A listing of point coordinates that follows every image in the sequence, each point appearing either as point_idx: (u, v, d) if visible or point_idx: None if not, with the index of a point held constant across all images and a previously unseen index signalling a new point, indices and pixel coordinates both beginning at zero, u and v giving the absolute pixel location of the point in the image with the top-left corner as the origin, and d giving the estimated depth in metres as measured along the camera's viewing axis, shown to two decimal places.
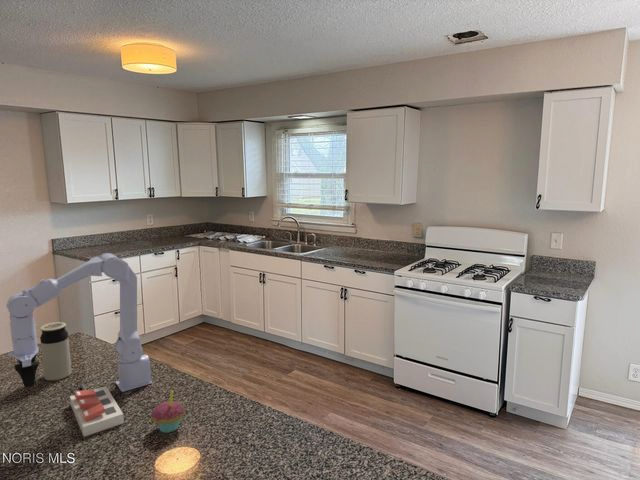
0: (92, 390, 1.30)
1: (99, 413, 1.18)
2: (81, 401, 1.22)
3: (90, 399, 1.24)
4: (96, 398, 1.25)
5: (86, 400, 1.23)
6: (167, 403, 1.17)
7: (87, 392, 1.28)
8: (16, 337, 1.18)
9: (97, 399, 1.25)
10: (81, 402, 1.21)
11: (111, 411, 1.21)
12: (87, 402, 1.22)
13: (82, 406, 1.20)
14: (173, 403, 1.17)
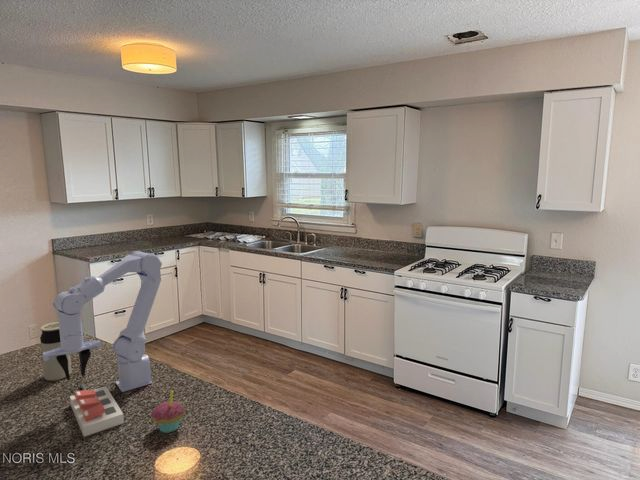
0: (92, 390, 1.30)
1: (99, 413, 1.18)
2: (81, 401, 1.22)
3: (90, 399, 1.24)
4: (96, 398, 1.25)
5: (86, 400, 1.23)
6: (167, 403, 1.17)
7: (87, 392, 1.28)
8: (67, 334, 1.22)
9: (97, 399, 1.25)
10: (81, 402, 1.21)
11: (111, 411, 1.21)
12: (87, 402, 1.22)
13: (82, 406, 1.20)
14: (173, 403, 1.17)
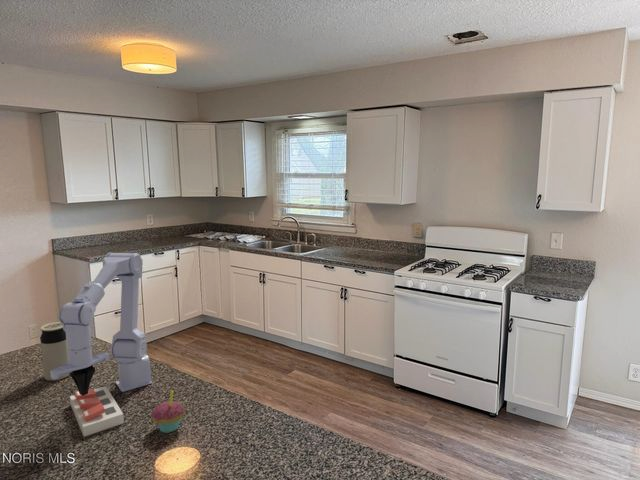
0: (92, 390, 1.30)
1: (99, 413, 1.18)
2: (81, 401, 1.22)
3: (90, 399, 1.24)
4: (96, 398, 1.25)
5: (86, 400, 1.23)
6: (167, 403, 1.17)
7: None
8: (82, 347, 1.13)
9: (97, 399, 1.25)
10: (81, 402, 1.21)
11: (111, 411, 1.21)
12: (87, 402, 1.22)
13: (82, 406, 1.20)
14: (173, 403, 1.17)
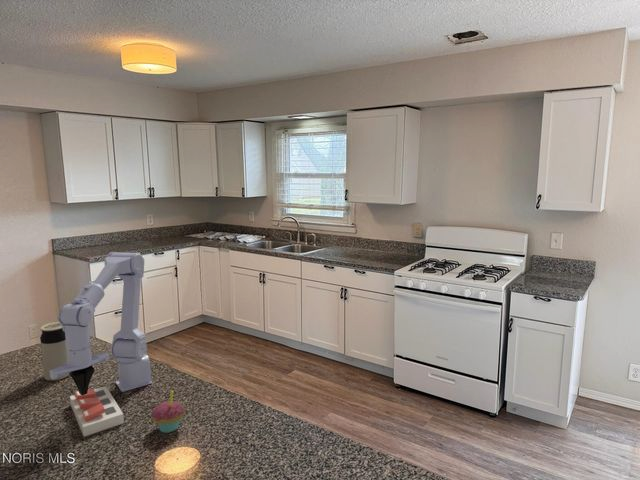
0: (92, 390, 1.30)
1: (99, 413, 1.18)
2: (81, 401, 1.22)
3: (90, 399, 1.24)
4: (96, 398, 1.25)
5: (86, 400, 1.23)
6: (167, 403, 1.17)
7: (87, 392, 1.28)
8: (81, 347, 1.15)
9: (97, 399, 1.25)
10: (81, 402, 1.21)
11: (111, 411, 1.21)
12: (87, 402, 1.22)
13: (82, 406, 1.20)
14: (173, 403, 1.17)
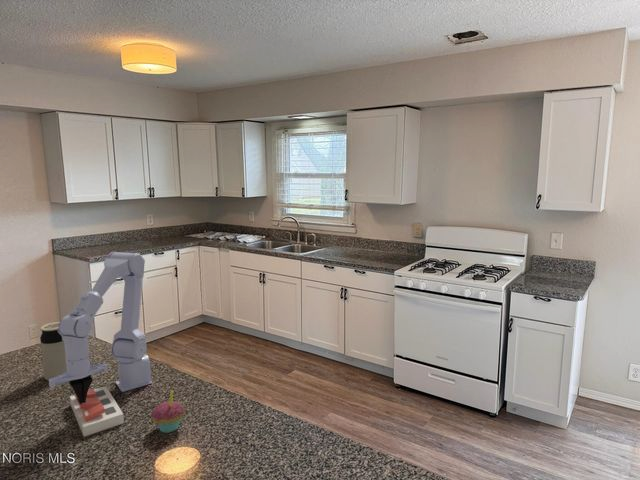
0: (92, 390, 1.30)
1: (99, 413, 1.18)
2: None
3: (90, 399, 1.24)
4: (96, 398, 1.25)
5: (86, 400, 1.23)
6: (167, 403, 1.17)
7: (87, 392, 1.28)
8: (78, 358, 1.17)
9: (97, 399, 1.25)
10: None
11: (111, 411, 1.21)
12: (87, 402, 1.22)
13: (82, 406, 1.20)
14: (173, 403, 1.17)
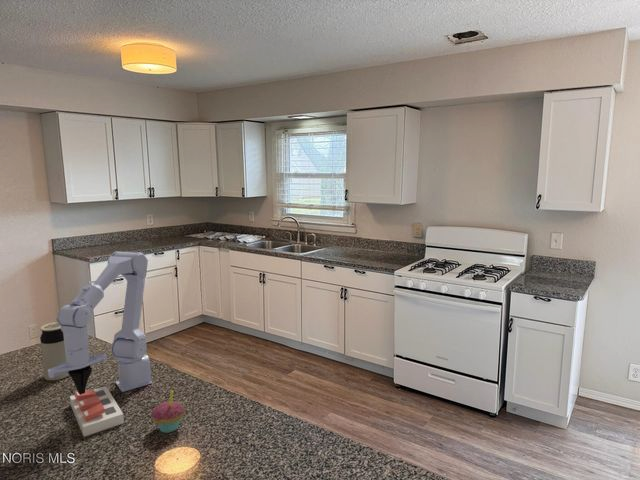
0: (92, 390, 1.30)
1: (99, 413, 1.18)
2: (80, 403, 1.22)
3: (89, 399, 1.24)
4: (95, 397, 1.25)
5: (85, 401, 1.23)
6: (167, 403, 1.17)
7: (87, 392, 1.28)
8: (77, 348, 1.17)
9: (97, 398, 1.24)
10: (80, 404, 1.21)
11: (111, 411, 1.21)
12: (86, 403, 1.22)
13: (82, 408, 1.20)
14: (173, 403, 1.17)
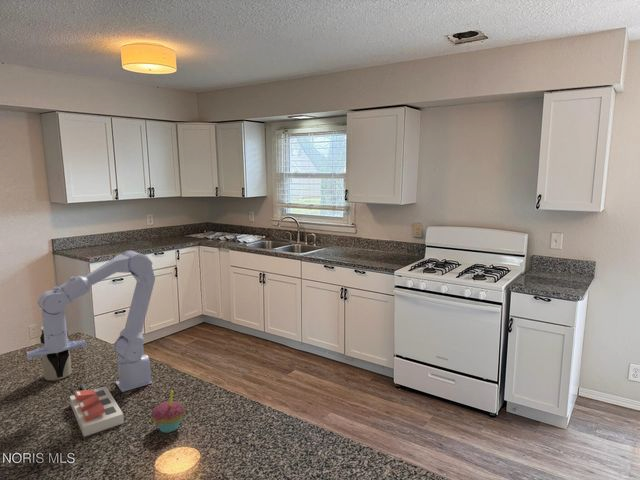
0: (92, 390, 1.30)
1: (99, 413, 1.18)
2: (80, 404, 1.22)
3: (89, 399, 1.24)
4: (95, 395, 1.25)
5: (85, 402, 1.23)
6: (167, 403, 1.17)
7: (87, 392, 1.28)
8: (49, 333, 1.21)
9: (96, 396, 1.24)
10: (80, 406, 1.21)
11: (111, 411, 1.21)
12: (86, 404, 1.22)
13: (82, 409, 1.20)
14: (173, 403, 1.17)
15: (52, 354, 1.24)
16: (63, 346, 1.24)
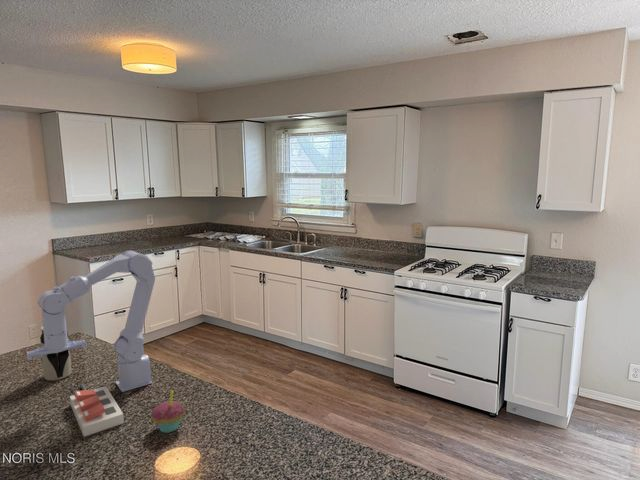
0: (92, 390, 1.30)
1: (99, 413, 1.18)
2: (80, 403, 1.22)
3: (89, 399, 1.24)
4: (95, 396, 1.25)
5: (85, 401, 1.23)
6: (167, 403, 1.17)
7: (87, 392, 1.28)
8: (49, 333, 1.21)
9: (96, 397, 1.24)
10: (80, 404, 1.21)
11: (111, 411, 1.21)
12: (86, 403, 1.22)
13: (82, 408, 1.20)
14: (173, 403, 1.17)
15: (52, 354, 1.24)
16: (63, 346, 1.24)
